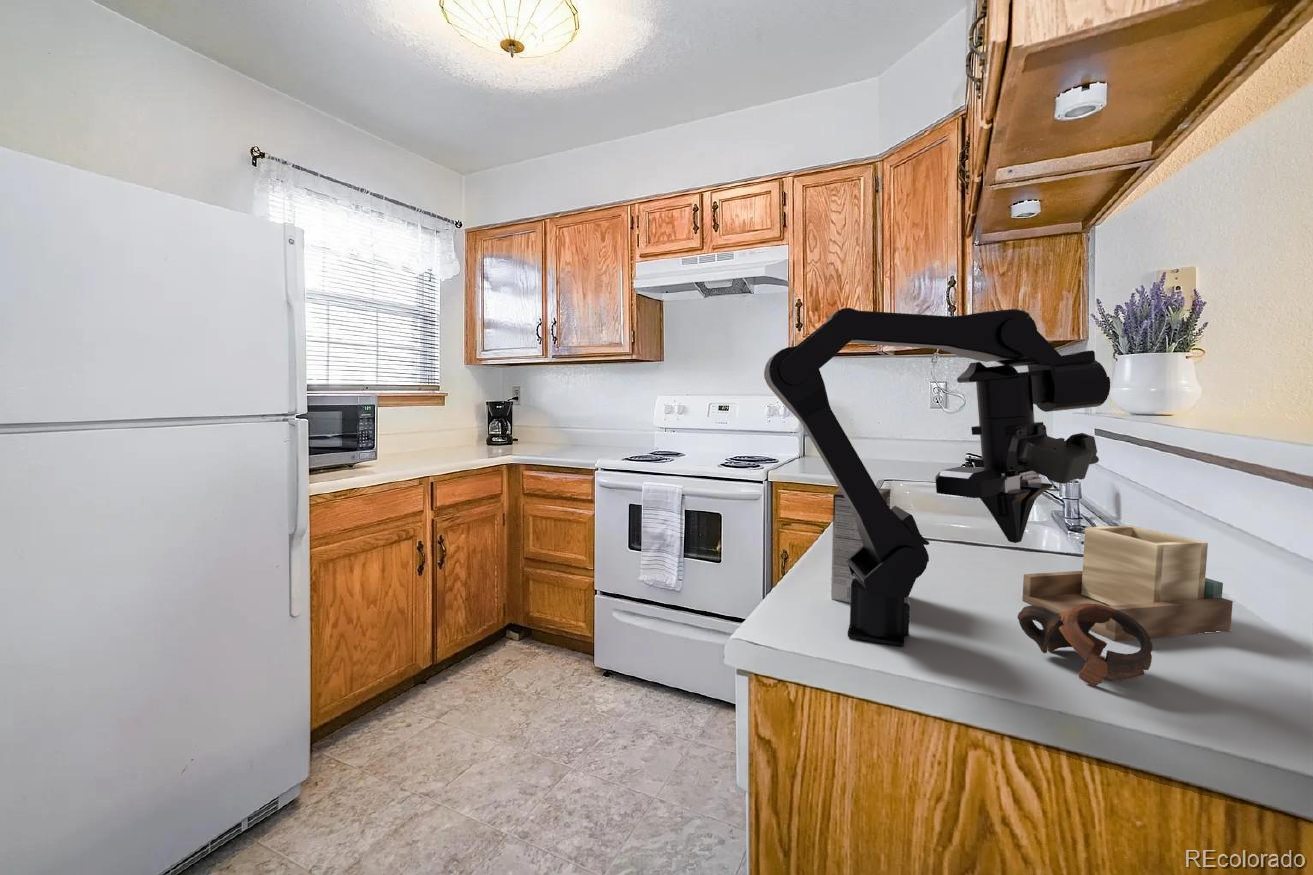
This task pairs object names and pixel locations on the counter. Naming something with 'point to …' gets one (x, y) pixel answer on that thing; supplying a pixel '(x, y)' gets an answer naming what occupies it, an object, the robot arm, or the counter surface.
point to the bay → (1133, 607)
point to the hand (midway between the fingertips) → (1014, 541)
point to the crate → (1141, 566)
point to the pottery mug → (1088, 640)
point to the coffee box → (845, 544)
